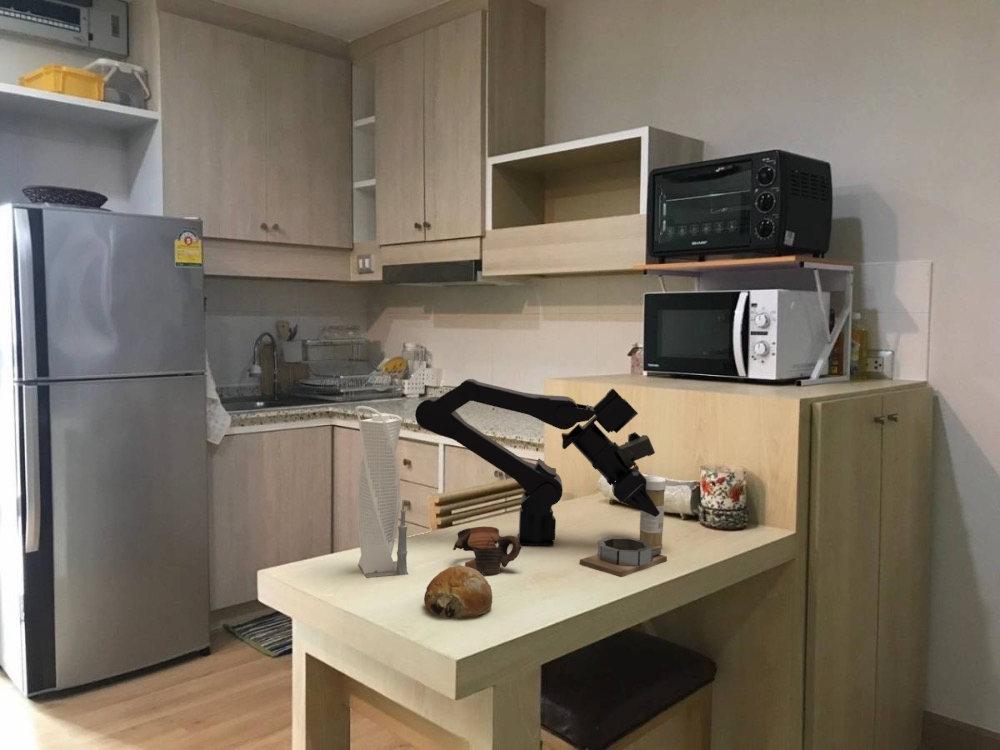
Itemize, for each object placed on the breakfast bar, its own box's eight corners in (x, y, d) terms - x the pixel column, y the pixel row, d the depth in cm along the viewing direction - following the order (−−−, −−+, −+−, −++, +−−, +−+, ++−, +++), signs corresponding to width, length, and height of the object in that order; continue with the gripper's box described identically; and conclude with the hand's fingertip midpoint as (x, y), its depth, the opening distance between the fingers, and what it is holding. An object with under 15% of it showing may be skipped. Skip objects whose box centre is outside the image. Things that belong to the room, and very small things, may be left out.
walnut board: (621, 576, 138) (621, 572, 138) (579, 564, 144) (579, 559, 144) (666, 560, 148) (666, 556, 148) (625, 549, 154) (625, 545, 154)
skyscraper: (357, 580, 132) (361, 408, 130) (348, 565, 139) (351, 403, 137) (408, 576, 135) (412, 408, 133) (396, 561, 143) (400, 402, 140)
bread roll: (494, 639, 119) (515, 586, 120) (440, 621, 113) (463, 567, 114) (457, 617, 127) (477, 568, 128) (406, 599, 121) (427, 549, 122)
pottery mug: (448, 578, 136) (445, 529, 139) (466, 587, 144) (462, 541, 147) (518, 566, 133) (512, 517, 137) (532, 576, 141) (526, 529, 145)
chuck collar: (630, 569, 139) (630, 554, 139) (588, 556, 146) (589, 543, 145) (666, 556, 147) (667, 543, 147) (625, 545, 154) (625, 532, 153)
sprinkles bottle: (648, 542, 159) (652, 474, 158) (667, 548, 156) (671, 479, 155) (633, 546, 156) (636, 477, 155) (651, 552, 153) (655, 481, 152)
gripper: (635, 427, 145) (695, 491, 145) (625, 415, 164) (678, 471, 164) (589, 469, 146) (648, 532, 146) (584, 452, 165) (636, 508, 165)
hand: (654, 509), depth 155 cm, fingers open, 9 cm apart
